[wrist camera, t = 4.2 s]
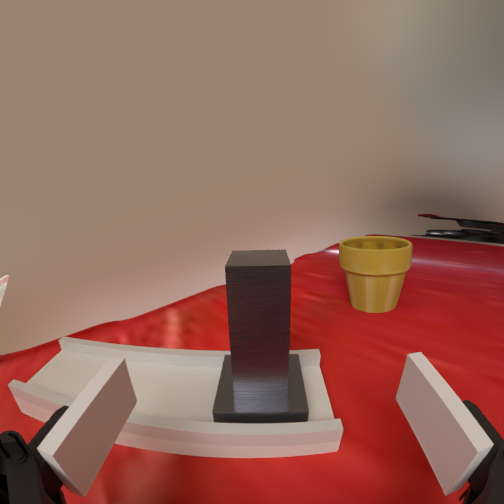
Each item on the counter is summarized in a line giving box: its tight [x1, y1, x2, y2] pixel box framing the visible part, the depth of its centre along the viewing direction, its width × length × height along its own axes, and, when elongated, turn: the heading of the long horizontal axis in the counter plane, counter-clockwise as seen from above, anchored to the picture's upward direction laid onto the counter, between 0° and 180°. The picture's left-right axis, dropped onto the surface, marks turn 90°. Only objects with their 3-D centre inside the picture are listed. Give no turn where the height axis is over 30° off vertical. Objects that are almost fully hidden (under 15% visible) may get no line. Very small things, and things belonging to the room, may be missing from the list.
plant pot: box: [339, 236, 412, 313], centre depth 38 cm, size 10×10×10 cm
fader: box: [212, 250, 309, 424], centre depth 19 cm, size 6×7×10 cm
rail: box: [8, 337, 343, 458], centre depth 20 cm, size 26×10×3 cm, turn 88°
